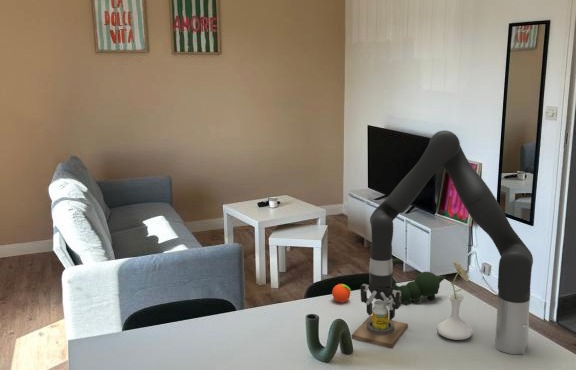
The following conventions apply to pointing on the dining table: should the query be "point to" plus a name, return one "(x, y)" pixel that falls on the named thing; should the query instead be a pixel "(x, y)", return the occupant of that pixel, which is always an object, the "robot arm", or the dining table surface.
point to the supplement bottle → (380, 315)
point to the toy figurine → (418, 286)
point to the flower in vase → (455, 313)
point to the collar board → (380, 339)
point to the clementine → (341, 292)
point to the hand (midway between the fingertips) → (380, 316)
